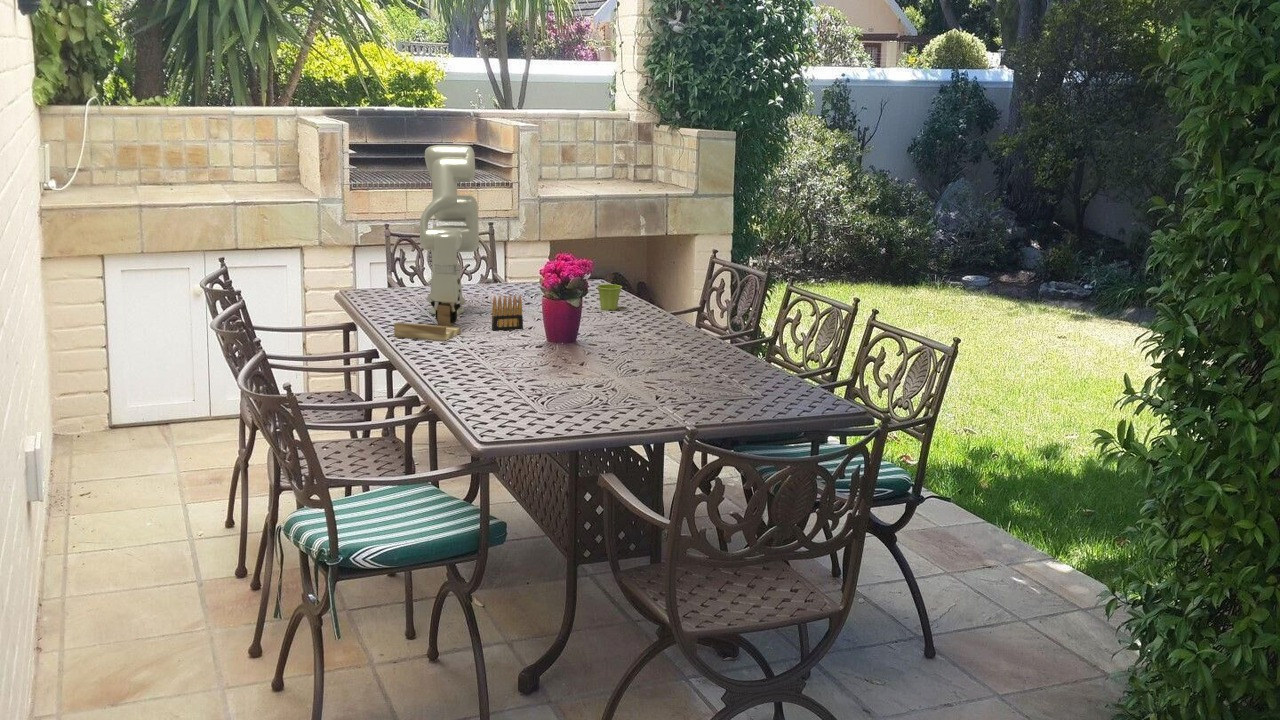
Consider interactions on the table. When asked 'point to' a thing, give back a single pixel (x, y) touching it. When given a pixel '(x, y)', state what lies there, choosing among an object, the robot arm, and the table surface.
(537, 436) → the table surface
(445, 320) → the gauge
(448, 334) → the board
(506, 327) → the ammunition clip
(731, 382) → the table surface
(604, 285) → the plant pot
